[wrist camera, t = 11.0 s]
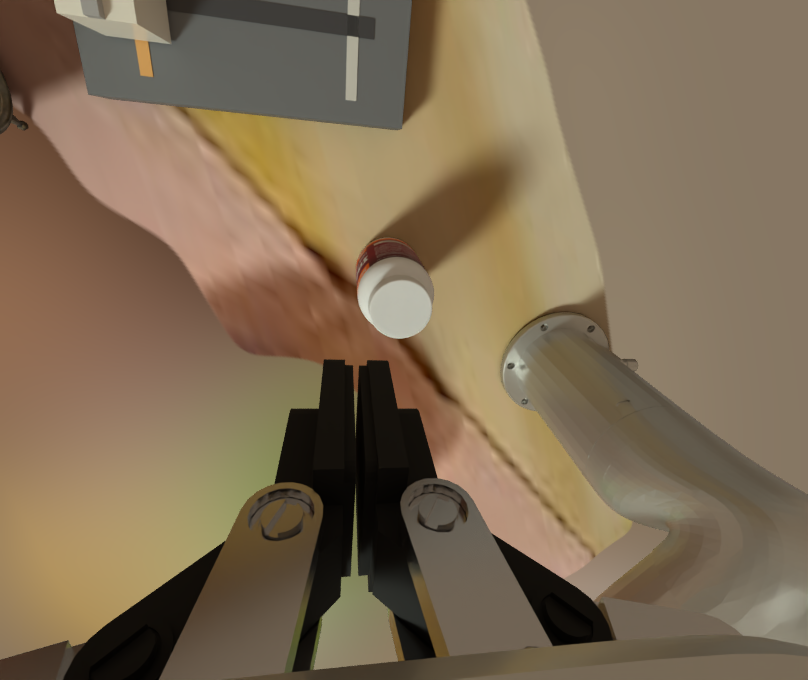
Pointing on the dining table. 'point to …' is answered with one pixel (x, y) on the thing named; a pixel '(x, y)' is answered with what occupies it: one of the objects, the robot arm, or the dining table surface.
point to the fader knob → (120, 17)
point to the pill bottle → (393, 288)
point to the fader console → (264, 60)
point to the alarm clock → (7, 108)
